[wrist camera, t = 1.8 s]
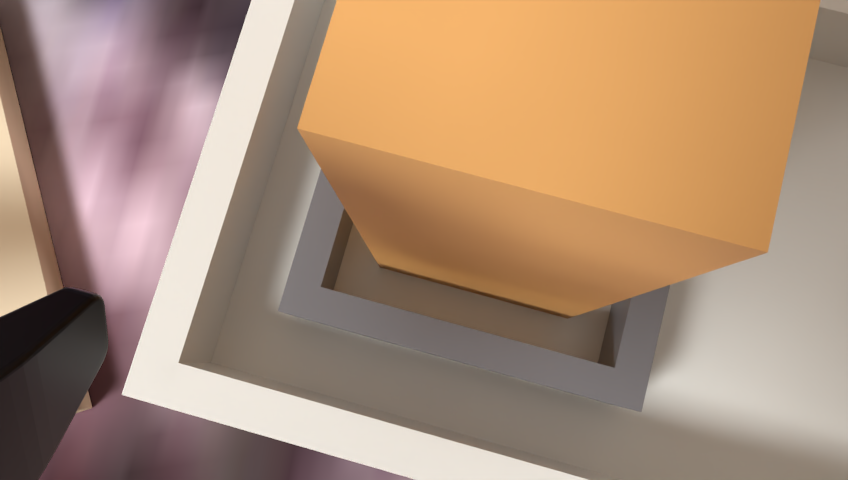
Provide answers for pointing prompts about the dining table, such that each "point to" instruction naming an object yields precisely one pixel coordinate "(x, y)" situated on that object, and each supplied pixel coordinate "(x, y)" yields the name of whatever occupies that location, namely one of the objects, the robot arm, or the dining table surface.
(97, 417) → the dining table surface
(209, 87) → the dining table surface
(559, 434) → the equipment case
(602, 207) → the block
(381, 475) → the dining table surface
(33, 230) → the wooden board
